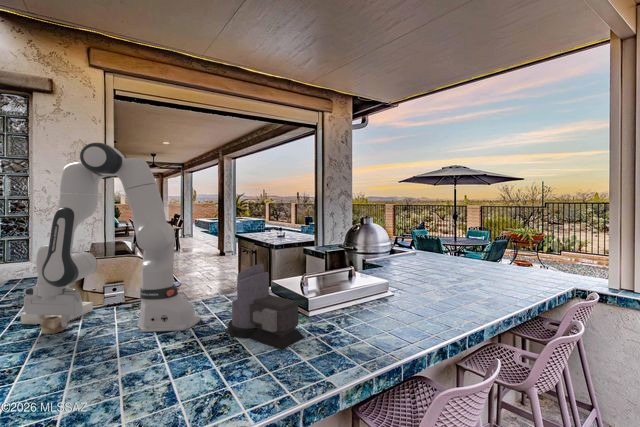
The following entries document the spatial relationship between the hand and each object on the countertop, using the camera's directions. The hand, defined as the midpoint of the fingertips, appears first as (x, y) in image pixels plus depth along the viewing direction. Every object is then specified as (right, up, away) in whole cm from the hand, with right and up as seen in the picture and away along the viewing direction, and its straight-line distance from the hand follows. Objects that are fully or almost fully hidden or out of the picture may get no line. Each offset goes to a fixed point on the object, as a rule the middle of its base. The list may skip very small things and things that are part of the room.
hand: (54, 326), depth 117 cm
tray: (-10, -1, +14) cm, 17 cm away
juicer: (+76, -2, -2) cm, 76 cm away
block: (0, -2, 0) cm, 2 cm away
